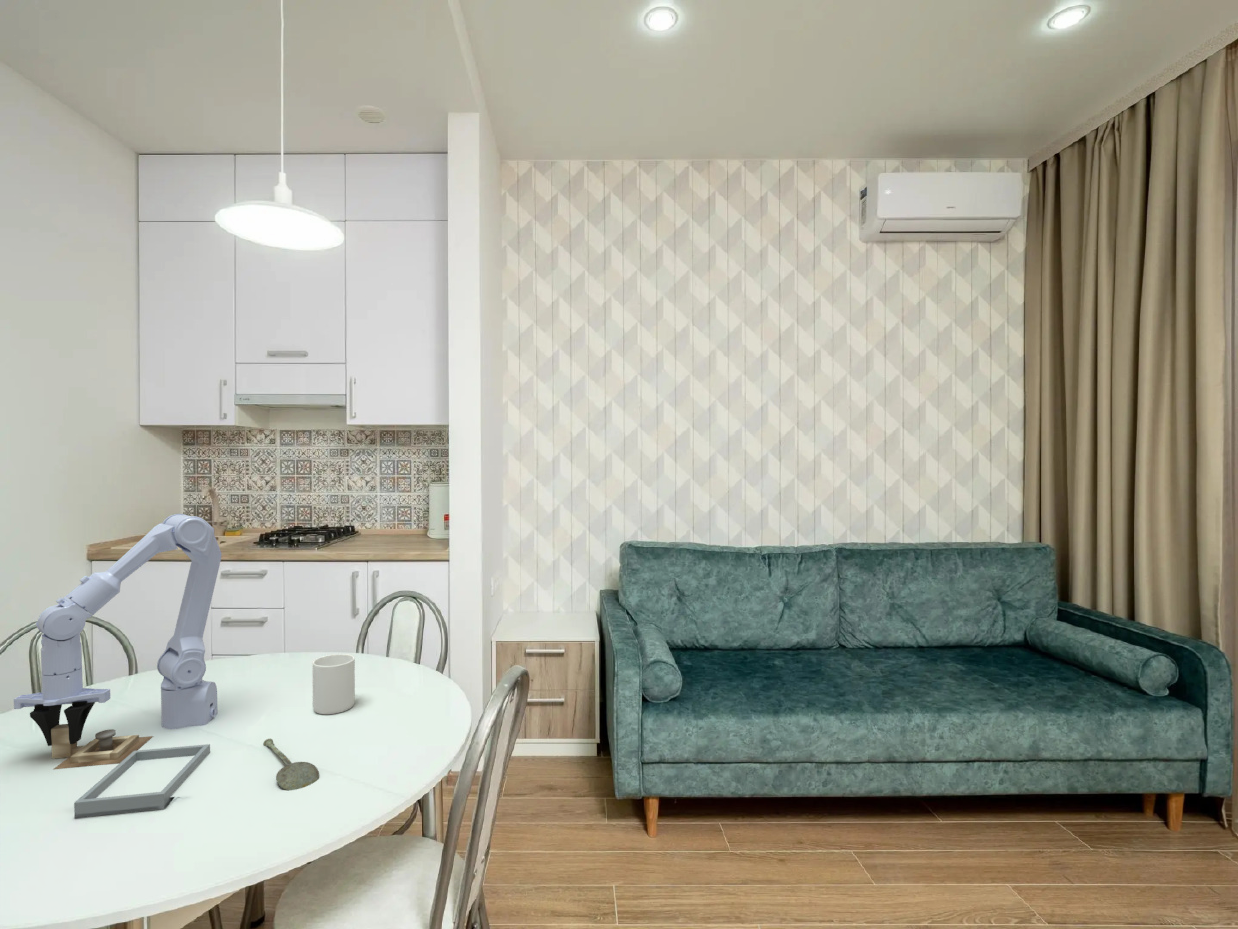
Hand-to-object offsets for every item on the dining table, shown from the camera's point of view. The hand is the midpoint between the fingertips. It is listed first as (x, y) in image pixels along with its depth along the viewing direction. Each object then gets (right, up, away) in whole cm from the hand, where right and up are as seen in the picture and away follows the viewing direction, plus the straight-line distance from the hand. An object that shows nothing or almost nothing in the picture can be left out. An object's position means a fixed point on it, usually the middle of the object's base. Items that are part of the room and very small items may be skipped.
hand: (64, 742), depth 120 cm
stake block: (+7, -3, +1) cm, 8 cm away
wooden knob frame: (+4, -2, +1) cm, 5 cm away
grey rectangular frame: (+22, -4, -9) cm, 24 cm away
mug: (+39, -3, +26) cm, 46 cm away
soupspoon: (+42, -4, -2) cm, 42 cm away
